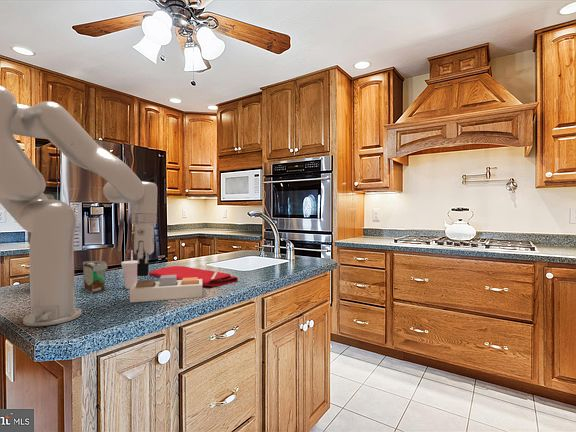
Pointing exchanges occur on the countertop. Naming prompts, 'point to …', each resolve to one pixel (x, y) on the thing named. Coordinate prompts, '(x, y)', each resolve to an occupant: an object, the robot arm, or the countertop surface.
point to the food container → (94, 276)
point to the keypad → (166, 292)
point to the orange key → (190, 281)
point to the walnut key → (145, 283)
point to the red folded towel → (196, 275)
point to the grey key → (168, 280)
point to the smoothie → (130, 272)
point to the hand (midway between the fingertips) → (142, 275)
